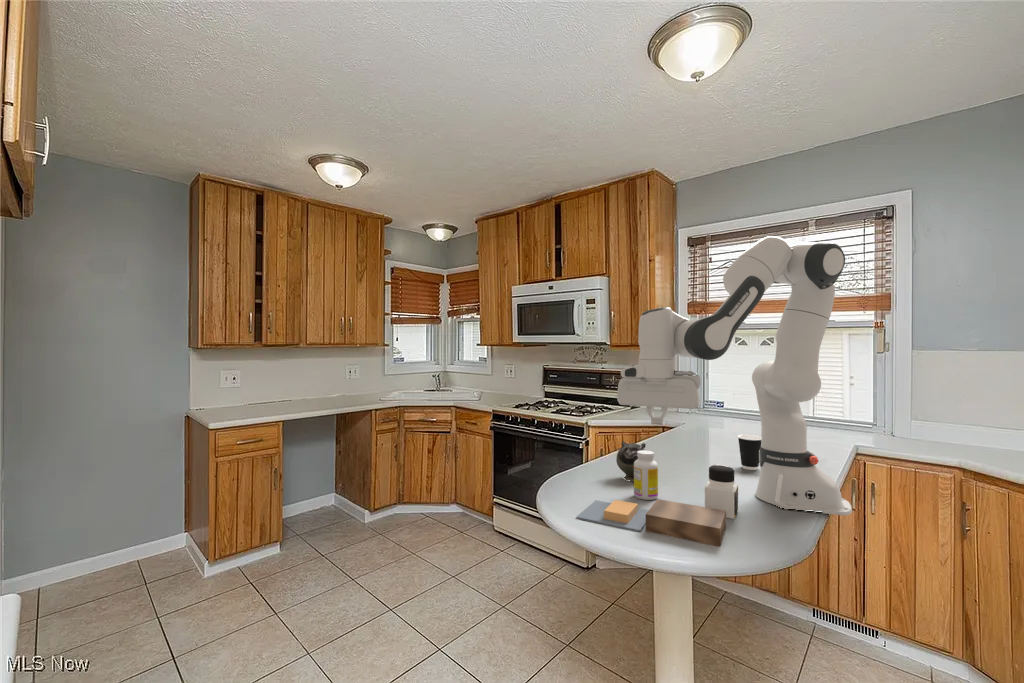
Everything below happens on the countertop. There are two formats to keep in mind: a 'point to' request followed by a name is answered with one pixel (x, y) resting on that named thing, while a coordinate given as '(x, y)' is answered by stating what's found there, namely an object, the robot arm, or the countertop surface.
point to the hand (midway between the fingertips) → (657, 424)
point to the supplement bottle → (645, 476)
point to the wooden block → (687, 522)
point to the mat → (597, 515)
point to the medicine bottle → (722, 490)
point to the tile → (621, 511)
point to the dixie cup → (749, 451)
